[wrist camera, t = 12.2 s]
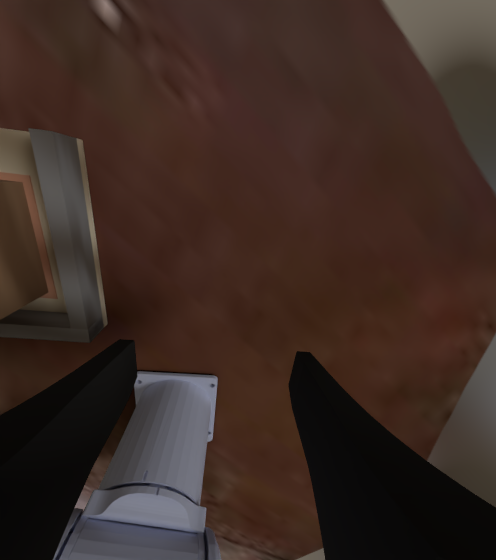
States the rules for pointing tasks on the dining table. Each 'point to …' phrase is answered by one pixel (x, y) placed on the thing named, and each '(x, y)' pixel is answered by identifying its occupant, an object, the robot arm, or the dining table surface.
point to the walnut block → (18, 251)
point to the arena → (56, 236)
